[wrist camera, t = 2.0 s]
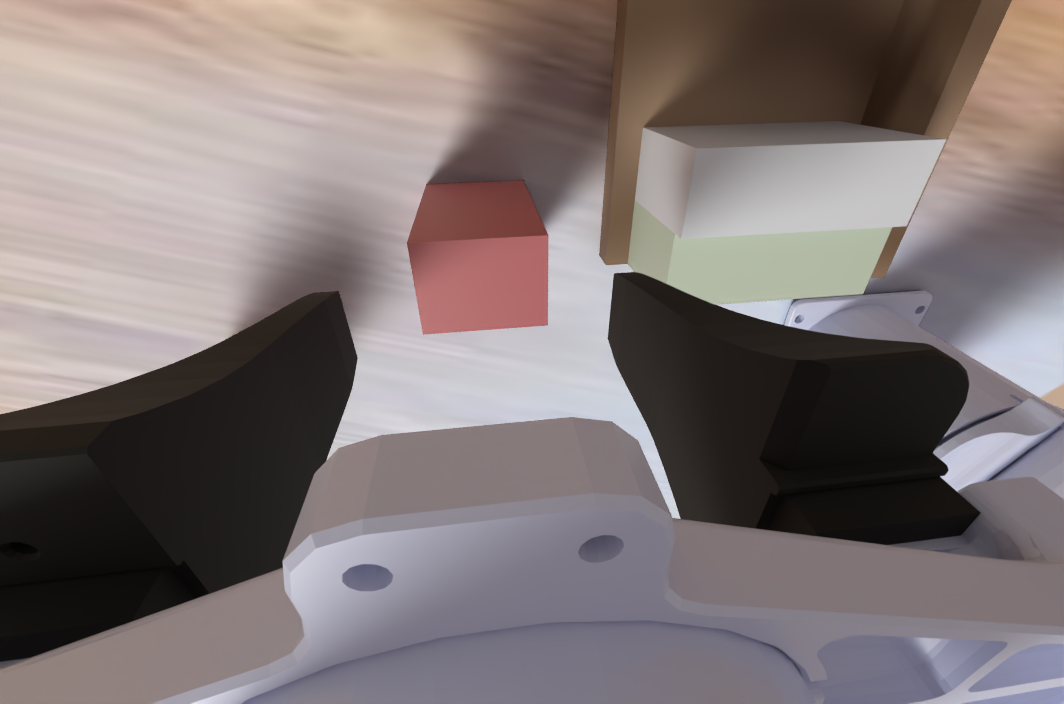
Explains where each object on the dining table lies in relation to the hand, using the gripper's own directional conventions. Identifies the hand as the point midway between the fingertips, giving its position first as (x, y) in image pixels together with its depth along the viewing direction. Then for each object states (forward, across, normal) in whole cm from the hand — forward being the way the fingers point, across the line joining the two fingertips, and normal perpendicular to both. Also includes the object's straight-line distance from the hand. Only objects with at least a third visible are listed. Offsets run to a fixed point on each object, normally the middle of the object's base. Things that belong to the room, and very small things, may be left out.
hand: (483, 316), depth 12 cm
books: (+8, -11, -1) cm, 13 cm away
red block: (+9, 0, 0) cm, 9 cm away
